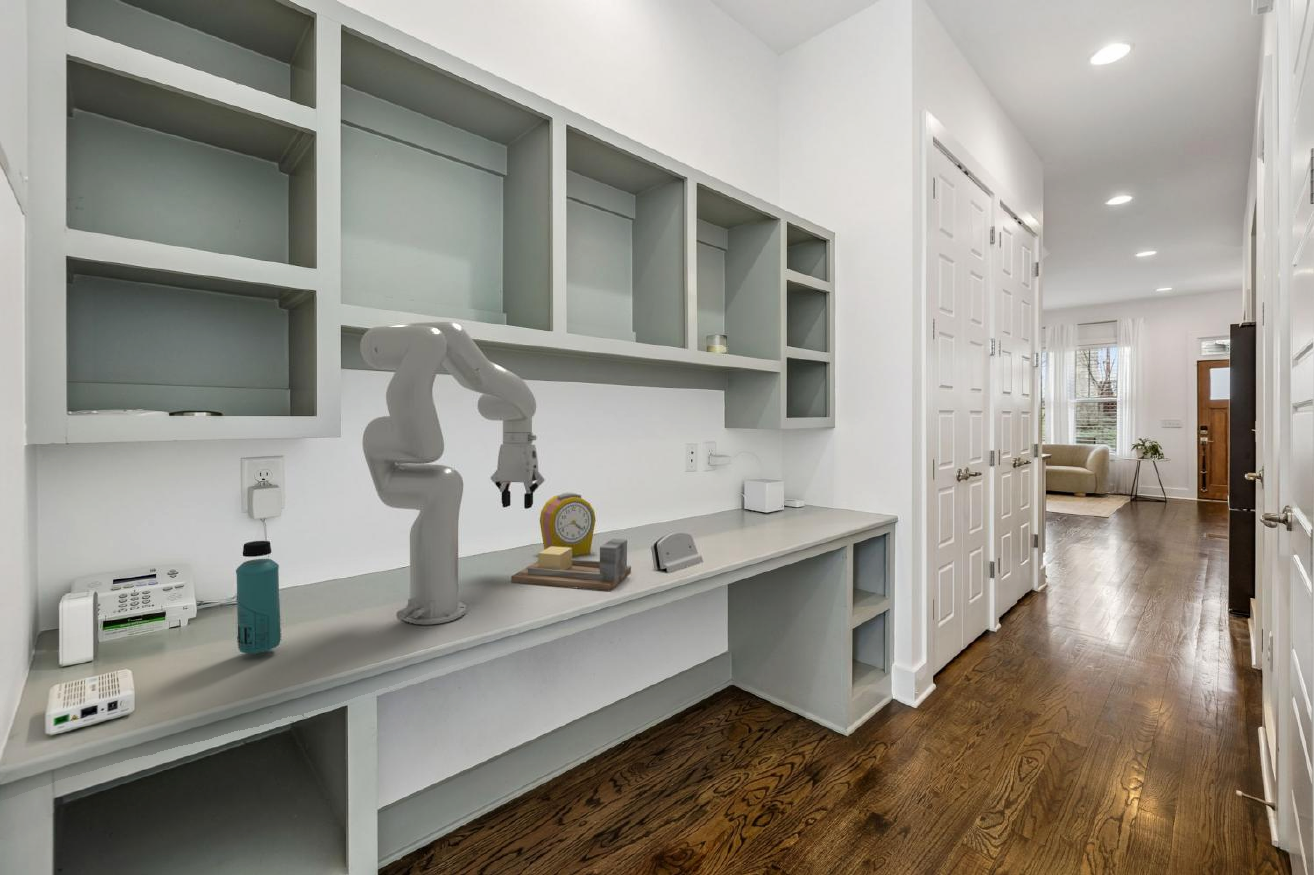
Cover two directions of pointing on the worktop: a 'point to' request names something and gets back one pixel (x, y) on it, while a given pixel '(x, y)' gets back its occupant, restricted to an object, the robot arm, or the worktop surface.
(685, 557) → the hinge
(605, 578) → the base
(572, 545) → the alarm clock
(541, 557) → the block
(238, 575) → the beverage bottle
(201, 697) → the worktop surface
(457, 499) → the robot arm
